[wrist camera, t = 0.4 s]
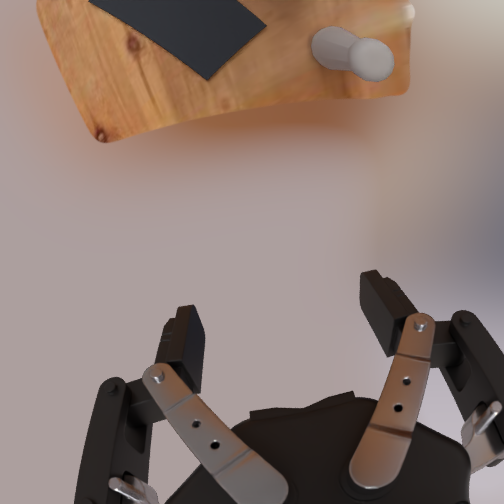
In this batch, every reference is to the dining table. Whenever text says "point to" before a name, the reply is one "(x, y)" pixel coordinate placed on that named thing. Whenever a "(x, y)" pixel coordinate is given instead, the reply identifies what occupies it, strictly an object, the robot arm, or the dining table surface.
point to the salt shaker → (352, 53)
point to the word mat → (190, 27)
